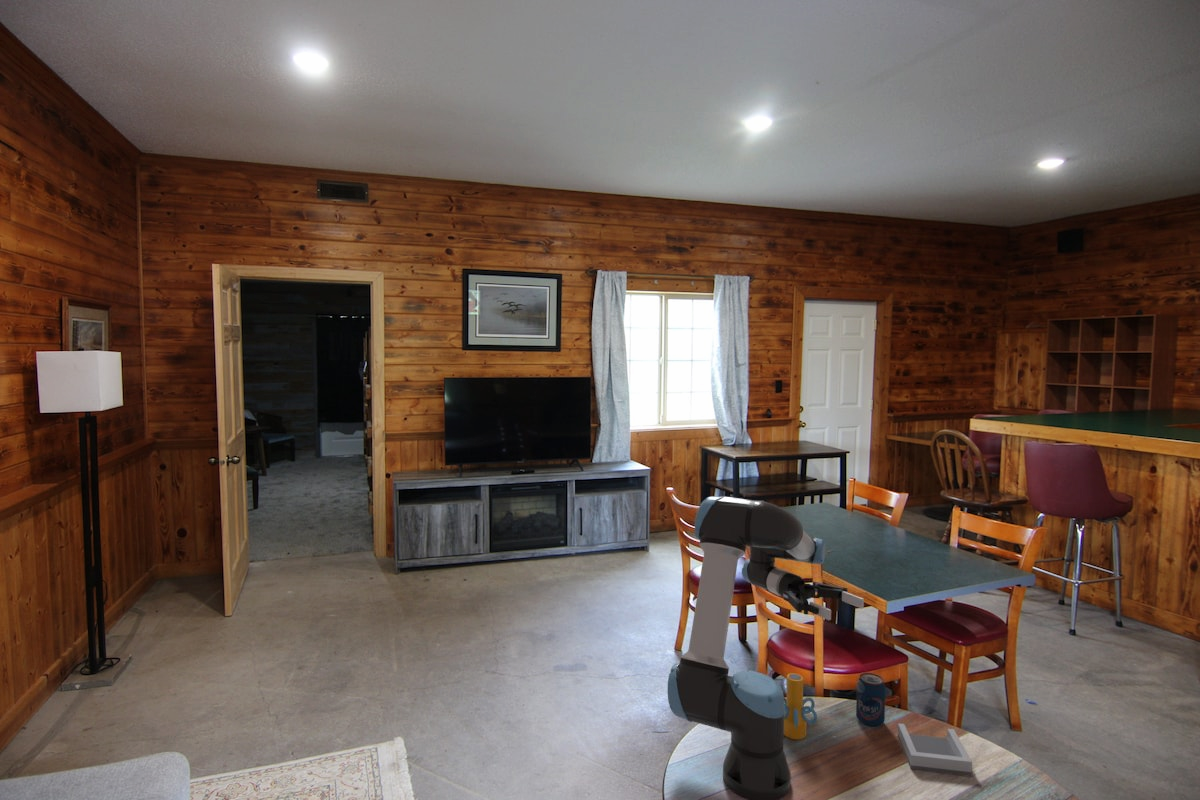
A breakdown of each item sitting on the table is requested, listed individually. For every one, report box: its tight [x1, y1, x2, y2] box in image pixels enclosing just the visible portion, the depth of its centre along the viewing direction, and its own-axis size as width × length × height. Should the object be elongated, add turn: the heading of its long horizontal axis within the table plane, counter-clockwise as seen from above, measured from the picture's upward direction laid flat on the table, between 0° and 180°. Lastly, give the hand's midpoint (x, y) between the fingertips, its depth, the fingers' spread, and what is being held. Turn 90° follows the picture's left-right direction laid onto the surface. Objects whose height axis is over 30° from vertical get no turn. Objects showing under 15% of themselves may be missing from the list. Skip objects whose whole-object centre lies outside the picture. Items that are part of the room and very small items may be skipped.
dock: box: [897, 723, 973, 777], centre depth 158 cm, size 13×13×4 cm
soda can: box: [855, 672, 886, 729], centre depth 172 cm, size 7×7×12 cm
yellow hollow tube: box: [784, 672, 818, 740], centre depth 167 cm, size 12×10×15 cm
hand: (846, 609), depth 176 cm, fingers open, 13 cm apart
